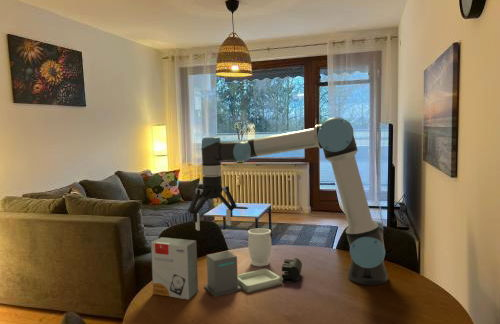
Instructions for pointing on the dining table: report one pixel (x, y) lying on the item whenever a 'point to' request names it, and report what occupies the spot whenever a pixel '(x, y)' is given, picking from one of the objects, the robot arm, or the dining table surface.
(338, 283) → the dining table surface
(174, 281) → the hard drive box
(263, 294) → the dining table surface
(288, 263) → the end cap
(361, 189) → the robot arm
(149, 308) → the dining table surface
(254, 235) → the jar
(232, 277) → the unit
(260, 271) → the tray
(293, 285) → the dining table surface
